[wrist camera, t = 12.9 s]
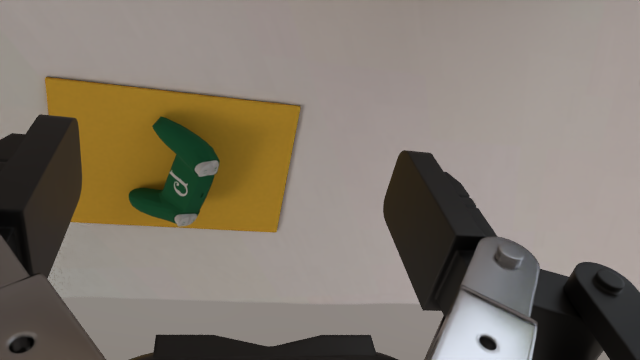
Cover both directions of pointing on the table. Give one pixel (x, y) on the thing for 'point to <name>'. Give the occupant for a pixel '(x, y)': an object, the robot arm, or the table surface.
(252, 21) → the table surface
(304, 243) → the table surface
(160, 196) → the gaming controller
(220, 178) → the cloth
